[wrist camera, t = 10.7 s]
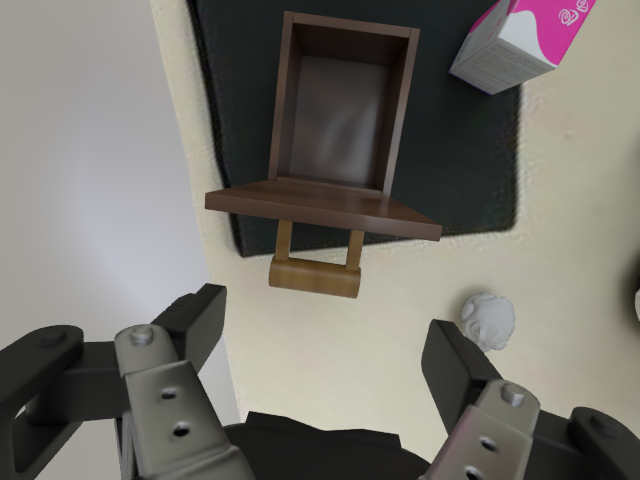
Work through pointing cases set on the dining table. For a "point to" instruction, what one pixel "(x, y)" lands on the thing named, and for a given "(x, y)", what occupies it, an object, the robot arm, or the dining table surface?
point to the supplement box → (518, 42)
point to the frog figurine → (488, 321)
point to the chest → (340, 102)
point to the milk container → (637, 299)
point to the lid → (327, 211)
